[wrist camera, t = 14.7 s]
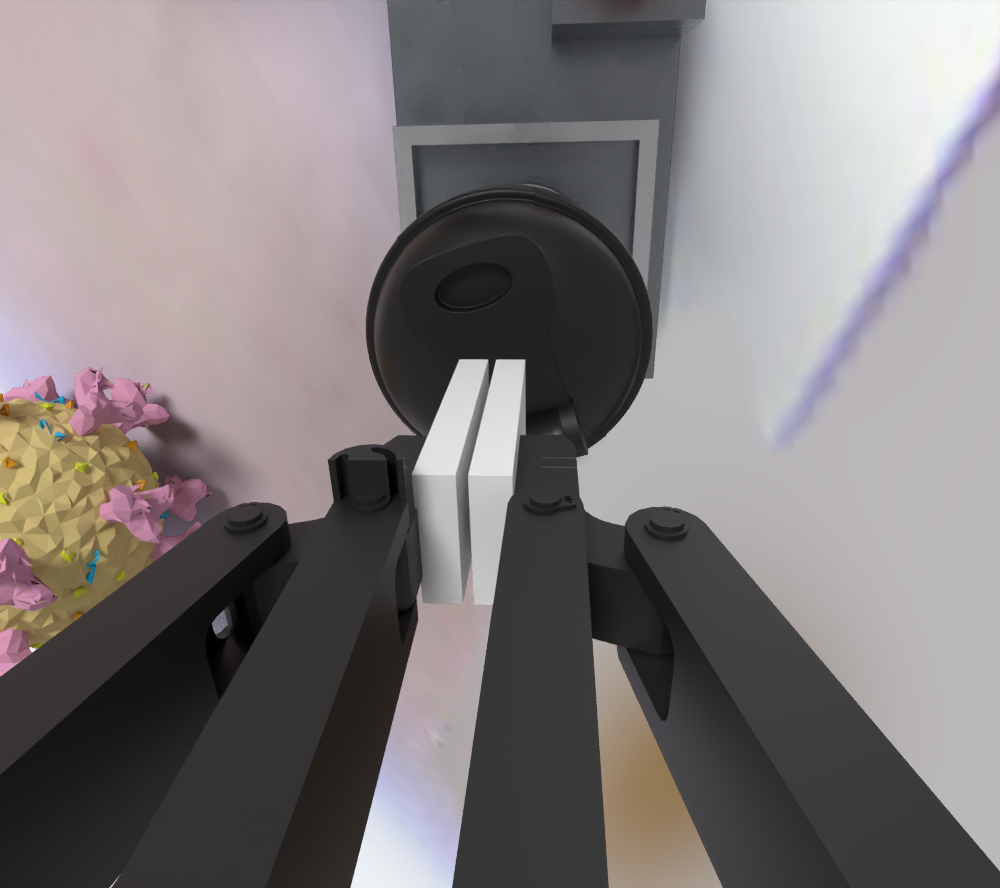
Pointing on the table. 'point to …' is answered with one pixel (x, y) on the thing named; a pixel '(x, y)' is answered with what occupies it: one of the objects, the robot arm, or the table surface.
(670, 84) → the press
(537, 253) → the water bottle
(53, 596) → the educational model
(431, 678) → the table surface
